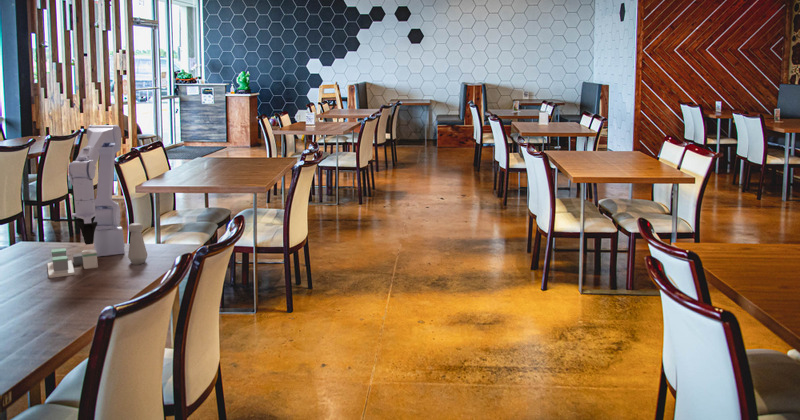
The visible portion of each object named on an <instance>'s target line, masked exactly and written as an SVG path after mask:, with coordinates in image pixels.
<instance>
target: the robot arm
mask: <svg viewBox="0 0 800 420" xmlns="http://www.w3.org/2000/svg"><path fill="white" fill-rule="evenodd" d="M86 138H87V140H88V142H87V144H86V146H83V147H82V148H81V149H80V151H79V153H78V155H77V157H76V158H75V160H73V161H72V162H69V164H68V168H67V169H68V171H67V173H68V176H69V179H70V185H71V186H72V190H73V191H72V192H73V199H74V200H73V201H74V209H75V211H74V212H75V213H74V212H73V213H71V217H73V218H75V220H76V222H77V223H76V224H77V226H78V228H79V230H80V232H81V235H82V238H83V241H84V242H83V243H84V244H85V246H86V245H87V246H88V245H93V247H94V248H93V249H96V252H97V258H98V257H107V256H115V255H124V254H126V252H125V250H126V249H125V245H126V244H125V241H124V240H125V239H124V231H123V230H124V229H123V227H122V226H119V225H120V223H121V219H122V218H121V217H122V216H121V207H120V205H119V203H118V202H116V201H115V200H113V188H114V172H115V161H116V153H118V152H120V151H121V148H122V147H121V146H122V130H121V127H120V126H119V125H118V124H98V125H97V124H89V125H88V127H87V128H86ZM98 161H99V162H98ZM97 162H98V171H97V186H96V198H95V191H94V188H95V187H94V180H93V179H94V178H95V176H96V168H97V167H96V165H97Z"/></svg>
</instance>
